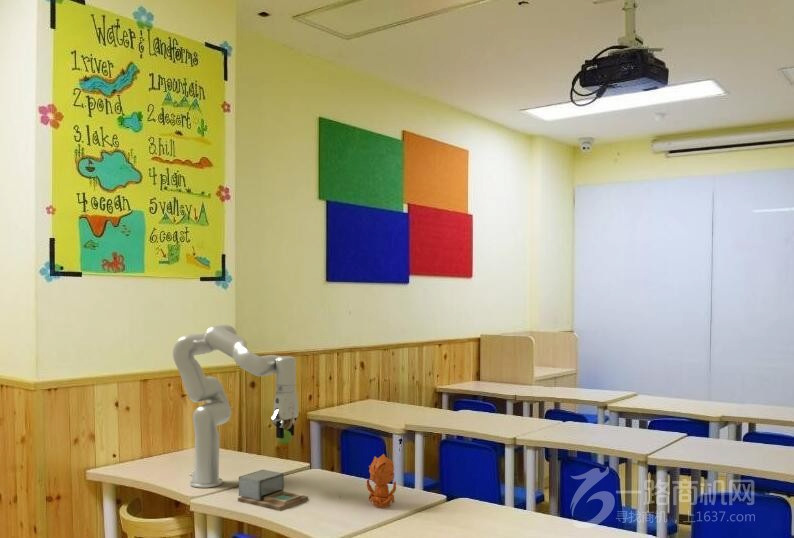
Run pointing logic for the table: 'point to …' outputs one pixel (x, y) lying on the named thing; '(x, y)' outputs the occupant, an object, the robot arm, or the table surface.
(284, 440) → the snail figurine
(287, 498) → the board
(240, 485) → the block
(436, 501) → the table surface
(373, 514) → the table surface
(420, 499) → the table surface
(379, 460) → the orange figurine
